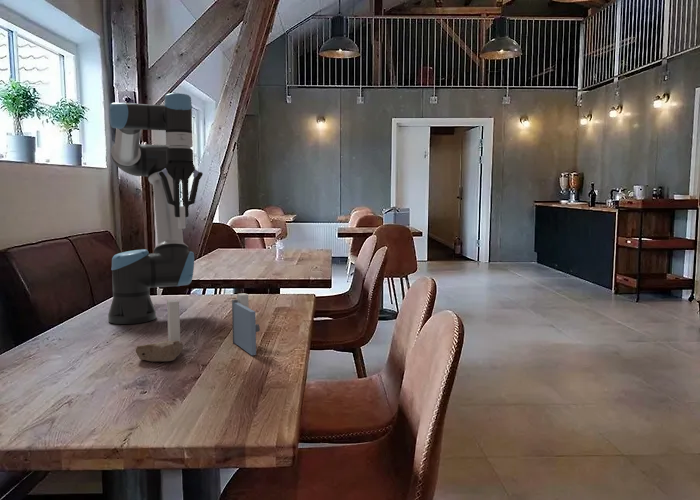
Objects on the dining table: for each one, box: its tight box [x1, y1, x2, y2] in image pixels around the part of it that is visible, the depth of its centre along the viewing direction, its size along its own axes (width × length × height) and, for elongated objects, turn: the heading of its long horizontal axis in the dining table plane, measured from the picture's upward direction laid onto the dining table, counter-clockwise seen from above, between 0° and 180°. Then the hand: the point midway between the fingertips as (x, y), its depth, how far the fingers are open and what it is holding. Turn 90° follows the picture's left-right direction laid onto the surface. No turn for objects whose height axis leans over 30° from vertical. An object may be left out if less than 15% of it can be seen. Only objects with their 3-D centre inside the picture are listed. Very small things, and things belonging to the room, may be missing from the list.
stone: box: [135, 340, 184, 362], centre depth 149 cm, size 9×11×5 cm
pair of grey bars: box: [166, 292, 250, 342], centre depth 161 cm, size 3×22×14 cm, turn 120°
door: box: [231, 298, 261, 356], centre depth 158 cm, size 3×16×13 cm, turn 29°
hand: (181, 228), depth 171 cm, fingers closed
